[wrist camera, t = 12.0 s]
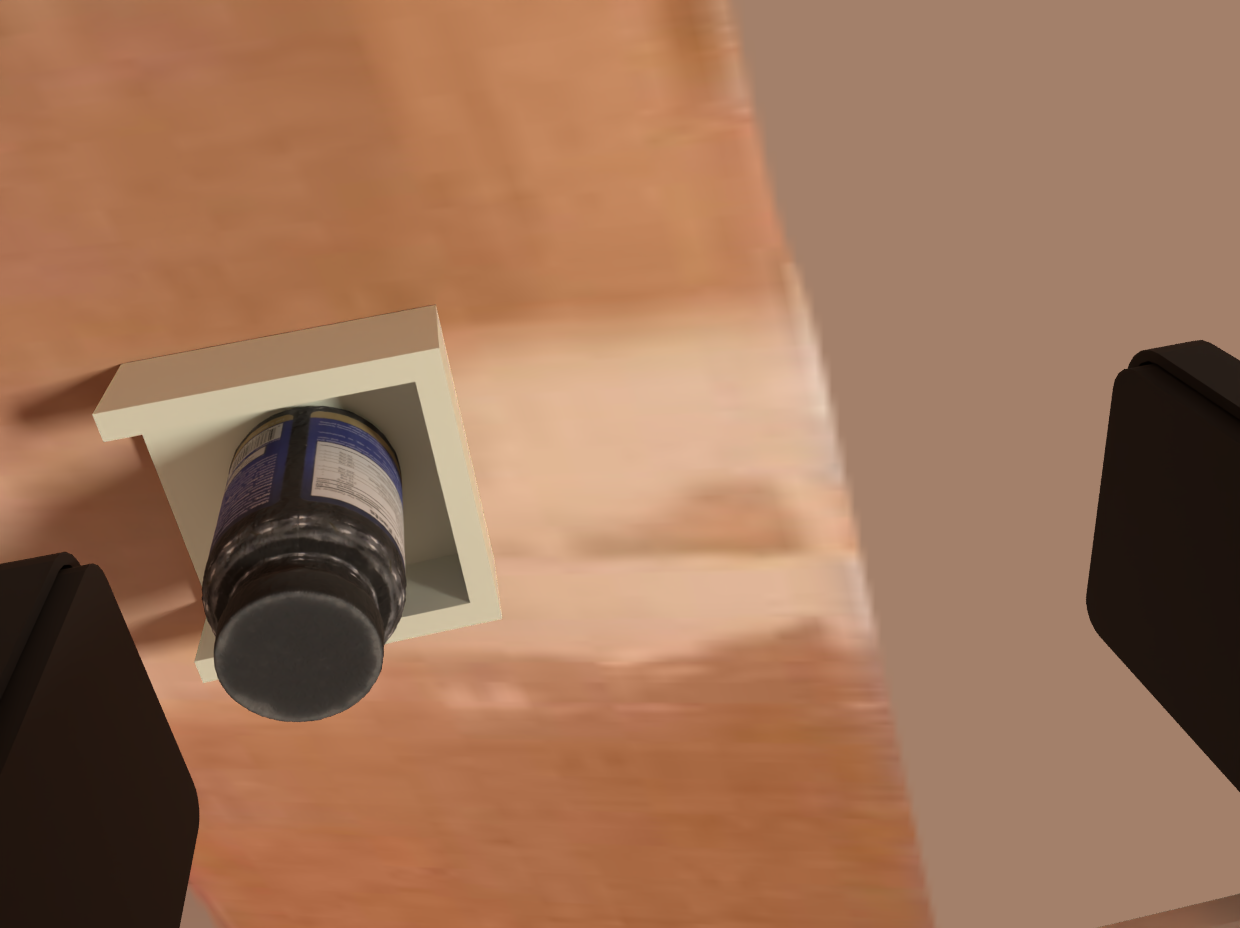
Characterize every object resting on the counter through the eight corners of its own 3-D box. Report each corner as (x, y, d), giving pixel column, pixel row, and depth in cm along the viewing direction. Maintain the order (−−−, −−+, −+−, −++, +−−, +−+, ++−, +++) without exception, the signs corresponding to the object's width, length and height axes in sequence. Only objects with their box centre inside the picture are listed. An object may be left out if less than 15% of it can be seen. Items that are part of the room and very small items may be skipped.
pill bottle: (256, 557, 42) (217, 762, 32) (210, 415, 39) (152, 595, 29) (418, 527, 43) (426, 719, 33) (384, 385, 40) (383, 551, 30)
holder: (121, 364, 38) (92, 414, 35) (435, 304, 39) (439, 348, 36) (219, 616, 44) (203, 683, 40) (494, 559, 45) (502, 619, 41)
